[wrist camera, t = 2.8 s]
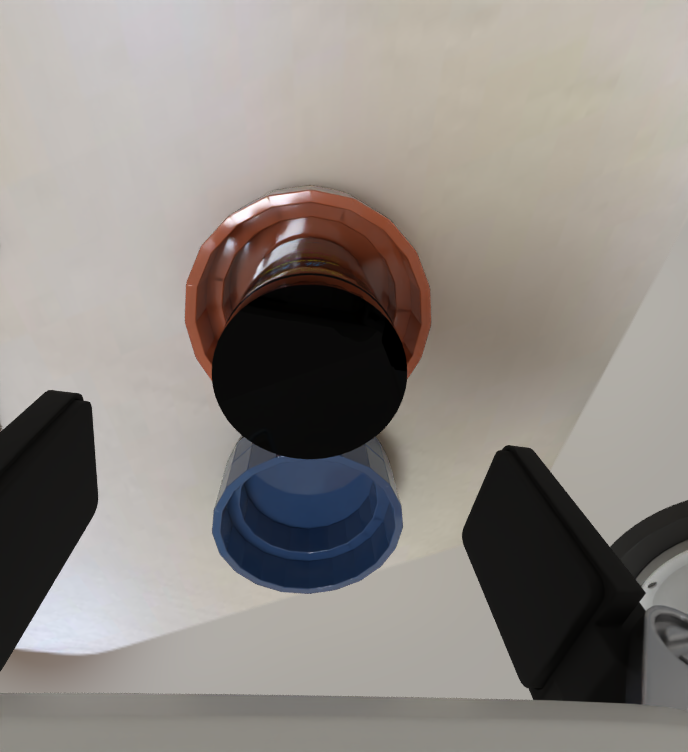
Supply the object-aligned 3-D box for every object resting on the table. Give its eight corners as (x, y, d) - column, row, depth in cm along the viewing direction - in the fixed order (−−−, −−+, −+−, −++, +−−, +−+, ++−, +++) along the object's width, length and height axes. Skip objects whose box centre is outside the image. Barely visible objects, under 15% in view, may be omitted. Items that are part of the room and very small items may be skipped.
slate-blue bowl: (406, 418, 29) (424, 465, 24) (369, 540, 33) (378, 598, 29) (234, 396, 27) (219, 442, 22) (221, 528, 32) (207, 587, 27)
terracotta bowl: (432, 210, 23) (462, 221, 18) (383, 394, 28) (397, 438, 23) (215, 164, 21) (190, 164, 17) (203, 368, 26) (181, 411, 22)
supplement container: (225, 274, 23) (167, 348, 14) (333, 209, 22) (351, 242, 13) (290, 370, 26) (280, 486, 17) (389, 317, 25) (438, 409, 16)
